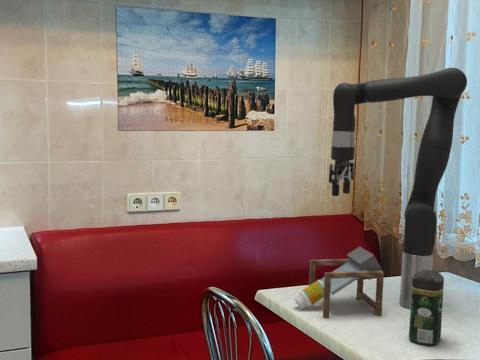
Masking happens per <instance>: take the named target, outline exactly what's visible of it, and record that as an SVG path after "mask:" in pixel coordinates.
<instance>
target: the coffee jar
mask: <svg viewBox="0 0 480 360" xmlns="http://www.w3.org/2000/svg"><path fill="white" fill-rule="evenodd" d="M444 281H445V279H444V276H443V274H441V273H440V272H439V271H437V270H432V271H431V270H423V271H420V272H417V273H416V274H415V275H414V276H413V277H412V288H411V309H410V314H409V316H410V317H409V326H408V327H409V329H408V330H409V332H408V338H409V340H410V341H412V342H414V343H416V344H419V345H423V346H427V345H429V346H435V345H437V344H438V343H439V342H440V339H441V337H442V336H441V335H442V320H443V319H442V315H443V302H444V301H443V300H444V299H443V298H444V286H445V285H444V283H445V282H444Z"/></svg>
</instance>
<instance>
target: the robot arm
mask: <svg viewBox="0 0 480 360" xmlns="http://www.w3.org/2000/svg"><path fill="white" fill-rule="evenodd" d="M467 85H468V79H467V75H466V74H465V72H463V71H462V70H461V69H459V68H456V67H447V68H444V69H441V70H438V71H434V72H431V73H426V74H422V75H421V74H420V75H415V76H408V77H407V76H406V77H392V78H383V79H381V78H380V79H374V80H368V81H366V82H359V83H348V82H341V83H339V84H338V85H336V87H335V88H334V90H333V95H332V96H333V97H332V100H333V101H332V102H333V103H332V105H333V121H332V123H333V124H332V136H331V147H330V148H331V149H330V151H331V152H330V159H331V160H334V163H330V164H329V170H328V171H329V173H328V183H331V196H332V197H339V196H340V183H341V180H342V181H343V184H342V194H346V195H347V194H351V193H350V192H351V183H352V181H354V177H355V176H354V175H355V162H352V161H354V160H355V156H356V155H355V151H356V136H355V135H356V132H355V131H356V115H355V105H361V104H366V103H367V104H368V103H370V104H371V103H373V104H374V103H382V102H383V103H385V102H392V101H398V100H405V99H410V98H415V97H432V99H431V108H430V112H429V115H428V119H427V122H426V124H425V126H424V129H423V132H422V136H421V140H420V144H419V148H418V152H417V159H416V164H415V172H414V181H413V186H412V190H411V194H410V196H409V198H408V202H407V205H406V206H405V210H404V214H403V216H404V236H403V243H402V244H403V245H402V259H401V272H400V273H401V275H400V276H401V277H400V289H399V291H400V292H399V293H400V294H399V304H400V305H401V306H402V307H404V308H406V309H407V308H408V309H410V310H411V288H412V277H413V276H414V275H415V274H416V273H417V272H420V271H423V270H431V271H433V263H434V262H433V261H434V260H433V259H434V250H435V244H436V234H437V233H436V232H437V221H438V220H437V219H438V218H437V213H436V212H435V203H436V197H437V191H438V187H439V185H440V182H441V181H442V179H443V176H444V174H445V172H446V169H447V167H448V164H449V159H450V155H451V151H452V147H453V146H452V145H453V138H454V125H455V116H456V112H457V108H458V105H459V103H460V100H461V97H462V94H463V93H464V92H465V90H466V88H467Z"/></svg>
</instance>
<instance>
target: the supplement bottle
mask: <svg viewBox="0 0 480 360" xmlns="http://www.w3.org/2000/svg"><path fill="white" fill-rule="evenodd" d="M322 299H324V284H323V283H322V282H321V281H320V279H317V280H315V282H314V283H312V284H311V285H309V284H308V286H306V287H305V288H303V289H302V290H300V291H299V295H297V296H296V297H294V301H295V304H297V306H298V307H299V308H300V310H303V309H305V308H306V306H307V307H311V306H313V305H315V304H316V303H318V302H319V301H320V300H322Z"/></svg>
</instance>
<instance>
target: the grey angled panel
mask: <svg viewBox="0 0 480 360" xmlns="http://www.w3.org/2000/svg"><path fill="white" fill-rule="evenodd" d="M346 256H347V259H349V261H348V262H347V263H345V264H344V265H340V266H339V267H338V268H336V269H334V270H332V272H355V271H383V270H382V267H381V266H380V263H379V262H378V260H377V258H376V256H375V255H374V254H373V253H372V252H370V251H368V250H366V249H365V248H362V247H361V246H358V247H356V248H355V249H354V250H351V251H350V252H348V253H347V254H346ZM324 277H325V276H324ZM324 277H322V278H320V279H319V280H320V281H321V282H322V283H323V284H324ZM373 278H374V277H370V278H366V279H367V280H368V281H370V280H372V279H373ZM357 279H359V278H333V279H331V291H330V295H332V296H334V295H335V294H337V293H339V292H340V291H341V290H343V289H345V288H347V287H348V286H349V285H352V283H354V282H357Z"/></svg>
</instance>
